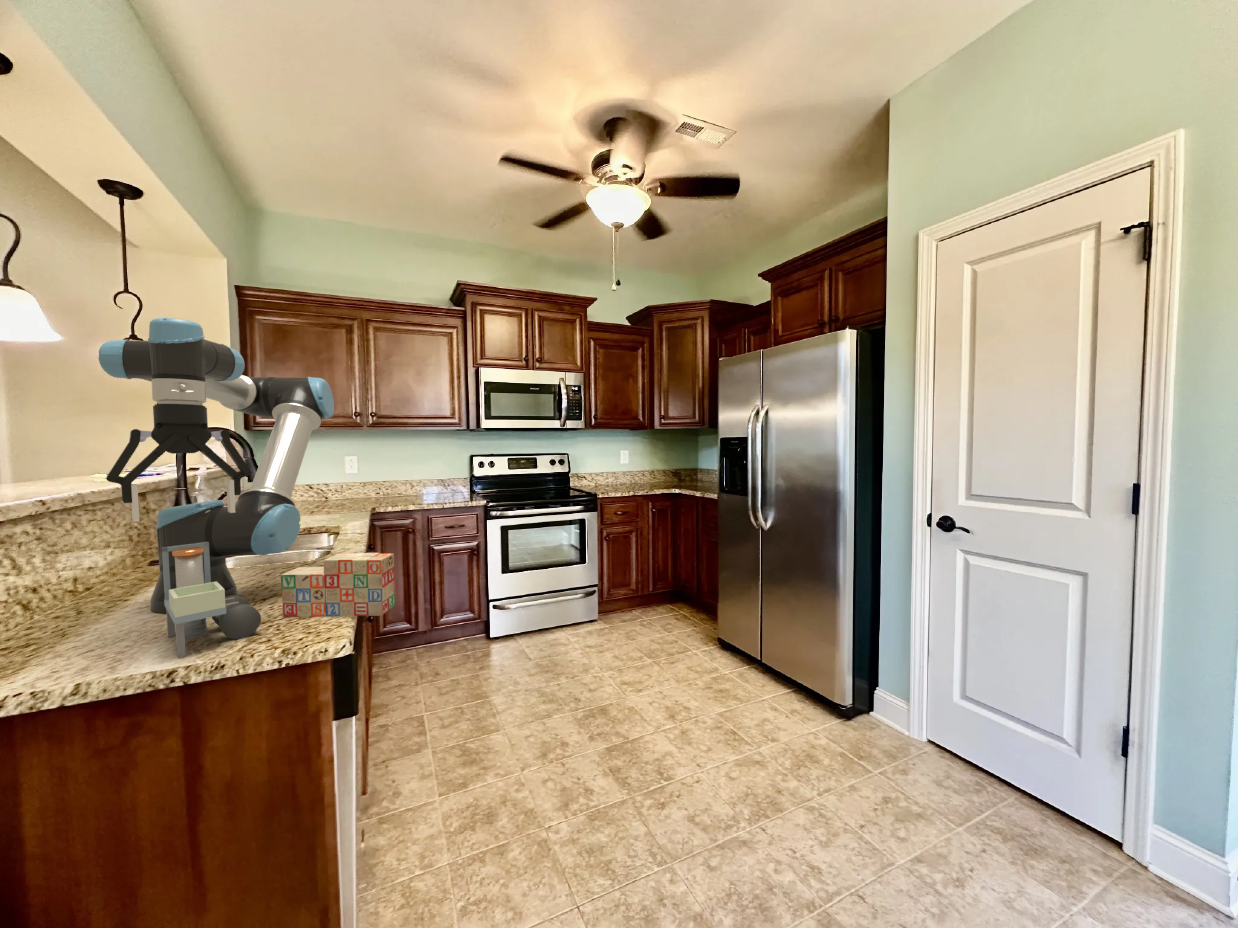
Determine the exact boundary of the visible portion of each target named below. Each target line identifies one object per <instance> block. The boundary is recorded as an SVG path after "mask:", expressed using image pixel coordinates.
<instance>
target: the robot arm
mask: <svg viewBox="0 0 1238 928" xmlns="http://www.w3.org/2000/svg"><path fill="white" fill-rule="evenodd" d="M148 326H149V327H148V329H149V331H148V338H147V340H139V339H138V340H135V339H134V340H133V339H122V340H121V339H119V340H116V339H114V340H108V341H106V342H104V343H102V344H101V345H100V348H98V349H99V350H98V363H99V366H100V367H101V368H102V370H103V371H104V372H105V373H106V374H107V375H109V376H110V377H113V378H117V379H126V380H132V379H136V380H144V381H148V382H151V395H152V399H151V400H152V401H154V402H156V404H153V406H152V410H153V411H152V416H153V429H152V431H150V430H140V429H138V428H134V429H131V430H130V432H129V440H128V441H129V442H128V443H127V444H126V446H125V447H124V449H123V450H122V452H121V454H120V455H119V457H118V458H117V460H116V461H115V463H114V465H113V466H112V468H111V469H110V471H109V472H108V474H107V475H106V477H105V480H107V482H109V483H114V484H119V485H120V487H121V500H122V502H123V504H130V505H131V518H132V519H131V520H132V522H133V523H135V522H137V523H138V522H140V509H139V508H140V507H139V492H138V491H139V489H138V484H137V483H134V484H132V483H133V482H134V481H136V479H137V478H139V476H140V475H142V474H143V473H144V472H145V471H146V470H147V469H148V468H149V467H151V465H153V463H155V462H156V461H157V460H158V459H159V458H160V457H161V456H163V455H164V454H165V452H167V453H169V454H173V455H174V454H181V453H185V454H196V453H198V452H200V453H201V454H203V455H204V456H205V457H207V458H208V459H209V460H210V461H211V462H212V463H213V464H215V465H216V466H217V467H218V468H219V469H220V470H221V471H222V472H224V473H225V474H226V475H227V476H229V477H230V478H229V479H226V480H225V481H226V482H225V483H226V500H227V501H226V504H227V506H225V504H224V502H223V500H221V499H219V500H218V499H217V500H210V501H202V502H195V503H188V504H182V505H178V506H177V505H176V506H172V507H167V508H163V509H161V510H160V511H159V512H157V513H158V514H157V516H156V527H155V531H156V535H157V537H156V538H157V539H156V540H157V549H158V550H157V552H158V553H157V554H158V565H159V566H158V567H159V575H158V578H157V581H156V583H155V587H154V590H153V592H152V595H151V598H150V611H152V612H154V613H164V614H165V613H166V607H165V605H164V599H165V593H164V575H163V558H162V548H163V547H171V546H178V545H186V544H194V543H202V542H209V555H210V574H211V582H216V581H217V582H218V583H219V584H220V585H221V586H222V587H223V588H224V589H225V597H226V596H231V595H237V596H238V591H237V585H236V583H235V580H234V577H233V576H232V574H231V572H230V571H229V568H228V566H227V560H226V559H227V558H226V557H237V556H238V557H239V556H243V557H244V556H267V555H274V554H280V553H283V552H285V551H287V550H289V548H290V547H291V546H293V545H294V543H295V541H296V540H297V538H298V535H299V532H300V529H301V524H300V522H301V514H300V511H299V509H298V508H297V507H296V504H295V503H296V502H294V500H293V499H292V493H293V491H294V488H295V485H296V483H297V479H298V475H299V473H300V469H301V466H302V464H303V460H304V456H305V454H306V450H307V447H308V444H309V441H310V437H311V435H312V432H313V431H315V430H317V429H319V427H321V423H322V421H323V419H325V420H326V419H331V418H332V417H333V416H334V412H335V401H334V395H333V392H332V389H331V386H330V385H329V383H328V382H327V380H326V379H323V378H322V377H311V376H307V377H299V376H298V377H296V376H295V377H286V376H246V375H245V374H244V375H243V373H244V371H245V365H246V364H245V360H244V357H243V356H242V354H241V353H240V352H239V351H238V350H236V349H235V348H231V347H230V346H228V345H225V344H224V343H217V342H215V341H212V340H208V339H205V335H204V330H203V327H202V326H201V325H200V324H199V323H197V322H195V321H191V320H186V319H181V318H171V317H156V318H153V319H152V320H151V321H150V322H149V325H148ZM207 399H209V400H212V401H216V402H218V403H219V404H220V405H222V406H223V407H225V408H227V409H230V410H233V411H237V412H239V413H243V414H247V415H251V416H255V417H260V418H266V419H274V420H275V422H274V425H273V428H272V429H271V433H270V436H269V438H268V441H267V443H266V446H265V448H264V452H262V453H263V454H262V456H261V459H260V461H259V465H258V467H257V469H256V472H255V475H254V478H253V481H252V483H251V486H250V488H249V489H248V490H245V491H243V492H242V488H241V487H242V486H241V485H242V484H241V482H242V481H241V479H242V478H244V477H247V476H251V475H252V470H251V469H250V467H249V466H248V464H247V462H245V460H244V459H243V457H242V455H241V453H240V452H239V450H237V448H236V447H235V445H234V444H233V442H232V441H231V437H230V436H231V435H230V432H229V430H227V429H221V430H217V431H214V430H213V431H210V429H209V425H208V424H209V423H208V407H206V406H205V405H203V404H205V403H206V402H207ZM150 437H151V439H152V440H154V442H155V443H157V444H158V445H157V446H156V447H155V448H154V449H153V450H152V451H151V452H150V453H149V454H148V455H146V456H145V458H143V459H142V460H141V461H140V462H139V463H138V464H137V465H136V466H135V467H133V469H131V470H130V471H129V472H128V473H127V474H126V475H125V476H121V474H122V472H123V470H124V469H125V467H126V465H127V464H128V462H129V461H130V460H131V458H132V456H133V455H134V453H135V452H136V450H137V448H138V447H139V445H140V443H144V442H146V441H147V439H148V438H150ZM212 438H214V439H215V440H216V441H217V442H220V444H221V445H222V447H223V448H224V450H225V451H226V453H227V454H228V456H229V458H231V460H232V461H233V463H234V464H235V466H236V467H237V468H238V470H239V471H237V470H236V469H234V468H233V467H232V466H231V465H229V464H228V463H227V462H226V461H225V460H224V459H223V458H221V457H220V456H219V455H218V454H217V453H216V452H214V451H213V450H212V448H210V447H209V446H208V445H207V443H208V442H209V441H210V439H212ZM235 496H238V498H237V500H235V499H236V497H235ZM168 555H169V572H170V589H176V572H175V557H174V556H172V551H169V552H168ZM203 569H204V553H203ZM204 584H205V572H204Z"/></svg>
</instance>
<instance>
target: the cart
mask: <svg viewBox="0 0 1238 928" xmlns="http://www.w3.org/2000/svg"><path fill="white" fill-rule="evenodd" d="M190 547H204V551H205V552H204V572H205V583H210V582H211V574H210V555H209V542H202V543H194V544H186V545H178V546H171V547H163V548H162V558H163V575H164V593H165V599H164V605H165V607H166V630H167V637H168V638H170V637H175V640H176V641H175V642H176V657H177V659H180V658H184V657H186V656H187V653H186V640H185V634H184V623H185V622H189V621H194V620H199V619H203V618H206V619H208V618H211V619H212V620H213V622H214V623H215V625H217V626H219V629H220V631H221V632H222V633H223V635H224V636H225V637H227V638H229V639H234V640H240V639H243V638H248V637H249V636H251V635H252V634H254V633H255V632H256V631H257V630H258V628H259V627H260V624H261V620H262V616H261V613H260V612H259V610H257V609H256V607H254V606H253V605H251V604H250V602H249V601H248V600H246V598H244V596H240V595H238V594H237V595H231V596H226V597H225V607H224V608H219V609H214V610H209V611H204V612H200V613H195V614H190V615H185V616H180V617H176V618H175V617H174V615H173V613H172V611H171V609H170V606H169V590H170V572H169V555H168V552H169V551H174V550H177V549H182V548H190Z"/></svg>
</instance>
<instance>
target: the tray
mask: <svg viewBox="0 0 1238 928" xmlns="http://www.w3.org/2000/svg"><path fill="white" fill-rule="evenodd" d="M169 606H170V609H171V611H172V613H173V615H174V617H175V618H176V617H180V616H185V615H190V614H195V613H200V612H204V611H209V610H214V609H219V608H224V607H225V589H224V588H223V587H222V586H221V585H220V584H219V583H218V582H217V581H216V582H210V583H205V584H199V585H193V586H187V587H182V588H176V589H170V590H169Z"/></svg>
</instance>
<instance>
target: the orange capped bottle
mask: <svg viewBox="0 0 1238 928" xmlns="http://www.w3.org/2000/svg"><path fill="white" fill-rule="evenodd" d="M204 552H205V551H204V547H190V548H182V549H177V550H174V551H172V556H174V557H175V572H176V588H182V587H187V586H193V585H199V584H204V569H203V553H204ZM184 634H185V641H189V640H191V641H192V640H194V639H199V638H202V637H205V636H206V635H207V634H208V628H207V618H203V619H199V620H194V621H189V622H185V623H184Z"/></svg>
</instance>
